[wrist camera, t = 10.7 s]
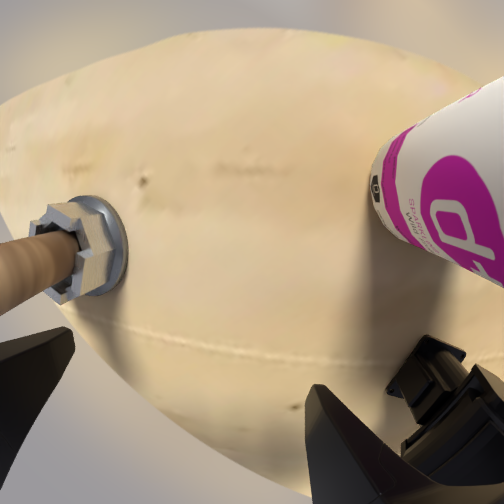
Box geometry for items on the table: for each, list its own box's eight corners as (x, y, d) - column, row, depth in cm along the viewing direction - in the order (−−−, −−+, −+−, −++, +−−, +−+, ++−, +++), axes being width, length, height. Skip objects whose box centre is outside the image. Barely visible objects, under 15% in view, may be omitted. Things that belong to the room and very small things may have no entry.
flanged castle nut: (140, 216, 20) (101, 223, 15) (117, 309, 22) (84, 331, 17) (70, 183, 21) (32, 183, 16) (55, 267, 23) (21, 279, 18)
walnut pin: (98, 228, 20) (-25, 261, 6) (96, 270, 20) (-12, 340, 7) (65, 225, 19) (-57, 251, 6) (64, 265, 20) (-47, 320, 6)
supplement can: (399, 263, 18) (541, 375, 3) (346, 164, 17) (485, 84, 3) (470, 211, 16) (617, 242, 2) (425, 118, 15) (564, 47, 1)
